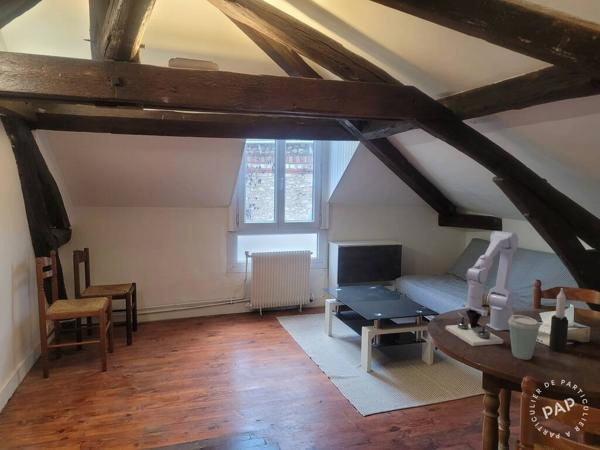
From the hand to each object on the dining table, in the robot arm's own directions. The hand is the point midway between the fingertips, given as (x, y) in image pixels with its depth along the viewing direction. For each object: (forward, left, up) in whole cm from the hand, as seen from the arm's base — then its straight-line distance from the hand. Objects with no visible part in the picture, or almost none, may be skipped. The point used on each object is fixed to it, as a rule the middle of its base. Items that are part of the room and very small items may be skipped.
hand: (473, 327), depth 177 cm
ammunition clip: (-27, -27, -5) cm, 38 cm away
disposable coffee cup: (-6, +21, -5) cm, 23 cm away
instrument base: (-1, -2, -4) cm, 5 cm away
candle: (-25, +18, -5) cm, 32 cm away
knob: (-1, -10, -3) cm, 11 cm away
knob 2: (-2, +2, -2) cm, 4 cm away
